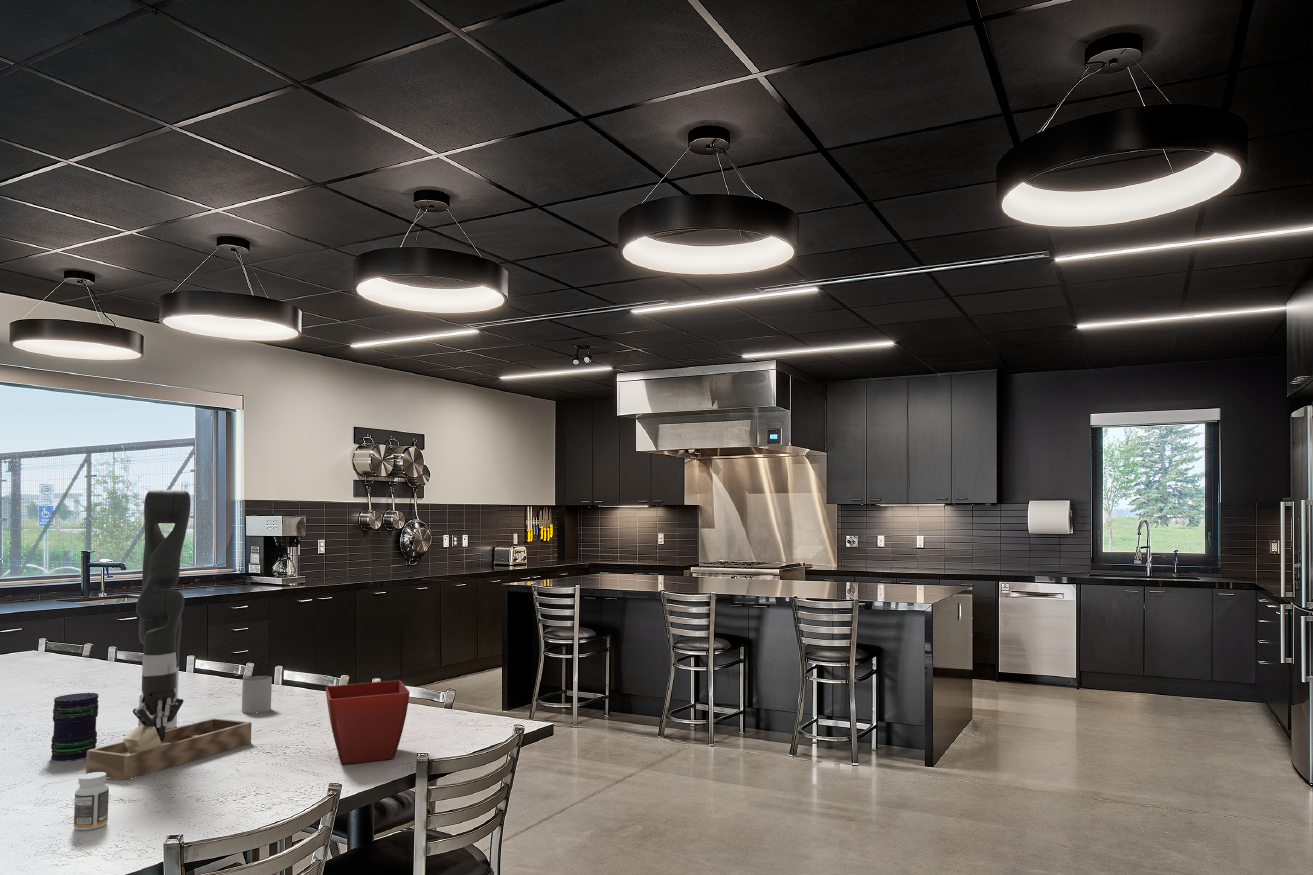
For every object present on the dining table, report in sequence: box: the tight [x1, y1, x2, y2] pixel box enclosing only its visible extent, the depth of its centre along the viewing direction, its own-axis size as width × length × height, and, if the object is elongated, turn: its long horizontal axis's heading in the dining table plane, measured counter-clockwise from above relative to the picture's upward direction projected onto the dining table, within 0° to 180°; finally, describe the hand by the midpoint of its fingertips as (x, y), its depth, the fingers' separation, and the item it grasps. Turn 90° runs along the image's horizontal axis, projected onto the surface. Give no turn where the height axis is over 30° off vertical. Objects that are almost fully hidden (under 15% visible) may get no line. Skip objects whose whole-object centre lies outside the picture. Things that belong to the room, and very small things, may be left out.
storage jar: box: [50, 692, 99, 762], centre depth 228 cm, size 10×10×15 cm
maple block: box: [122, 725, 162, 754], centre depth 217 cm, size 5×5×5 cm
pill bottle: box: [73, 772, 110, 831], centre depth 175 cm, size 6×6×10 cm
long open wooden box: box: [85, 717, 252, 781], centre depth 225 cm, size 36×14×6 cm, turn 158°
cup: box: [241, 675, 273, 714], centre depth 279 cm, size 8×8×10 cm
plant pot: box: [325, 680, 410, 765], centre depth 226 cm, size 19×19×17 cm
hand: (157, 741), depth 220 cm, fingers closed
